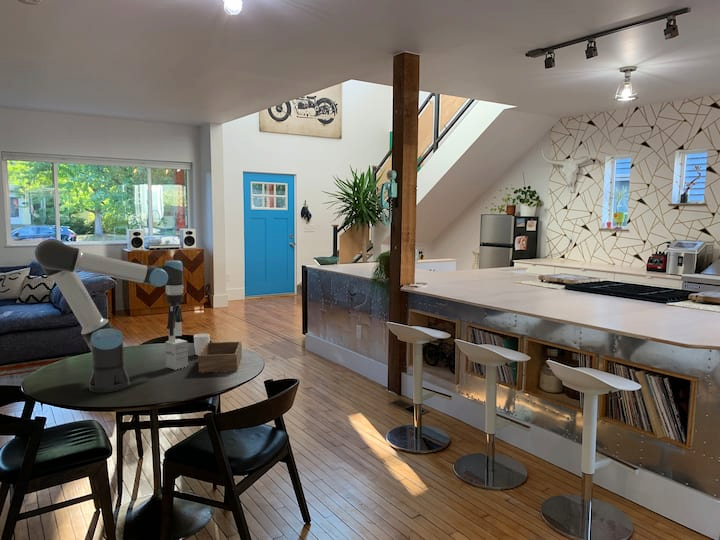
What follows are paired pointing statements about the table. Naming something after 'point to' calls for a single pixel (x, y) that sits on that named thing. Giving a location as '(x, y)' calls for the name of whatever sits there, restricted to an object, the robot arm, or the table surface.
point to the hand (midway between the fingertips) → (175, 339)
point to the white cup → (200, 342)
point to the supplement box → (176, 354)
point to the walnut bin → (220, 356)
